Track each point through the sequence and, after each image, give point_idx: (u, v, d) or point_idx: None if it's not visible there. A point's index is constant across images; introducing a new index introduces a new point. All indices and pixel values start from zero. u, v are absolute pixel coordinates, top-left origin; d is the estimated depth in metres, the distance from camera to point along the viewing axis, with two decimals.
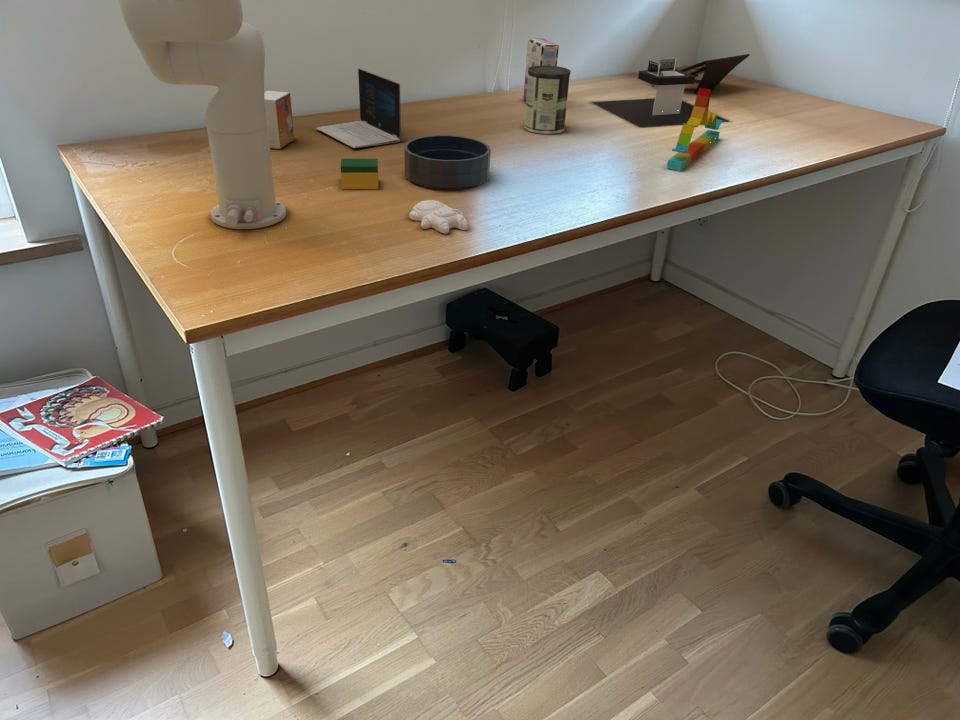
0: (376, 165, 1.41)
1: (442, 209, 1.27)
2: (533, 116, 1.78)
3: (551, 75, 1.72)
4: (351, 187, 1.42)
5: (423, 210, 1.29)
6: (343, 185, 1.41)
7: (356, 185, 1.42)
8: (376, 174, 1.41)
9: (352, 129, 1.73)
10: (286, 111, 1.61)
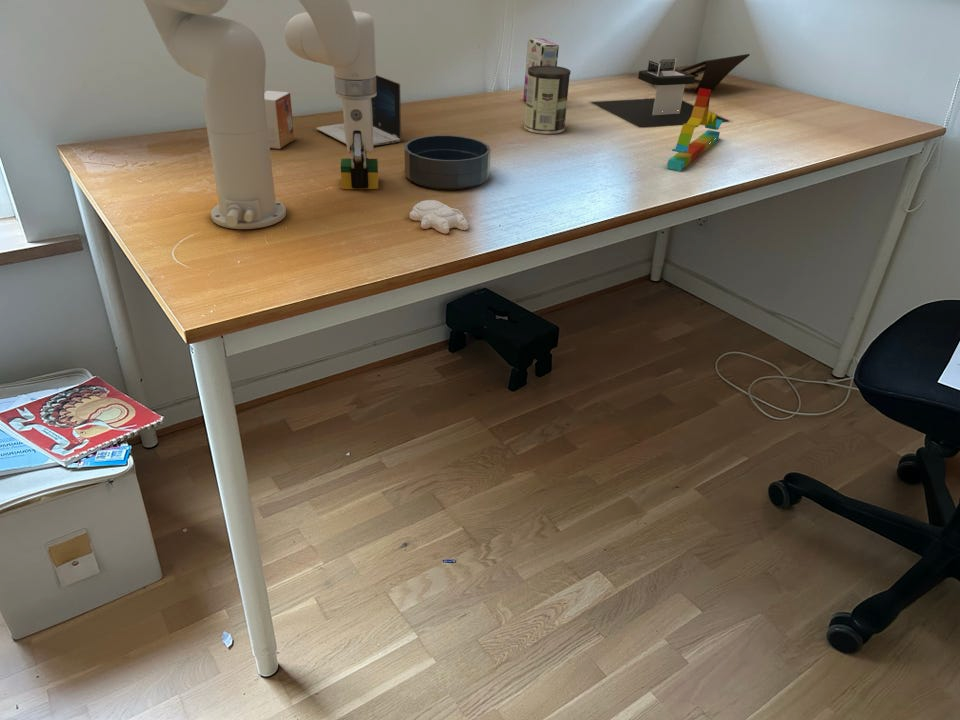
0: (376, 165, 1.41)
1: (442, 209, 1.27)
2: (533, 116, 1.78)
3: (551, 75, 1.72)
4: (351, 187, 1.42)
5: (423, 210, 1.29)
6: (343, 185, 1.41)
7: None
8: (376, 174, 1.41)
9: None
10: (286, 111, 1.61)
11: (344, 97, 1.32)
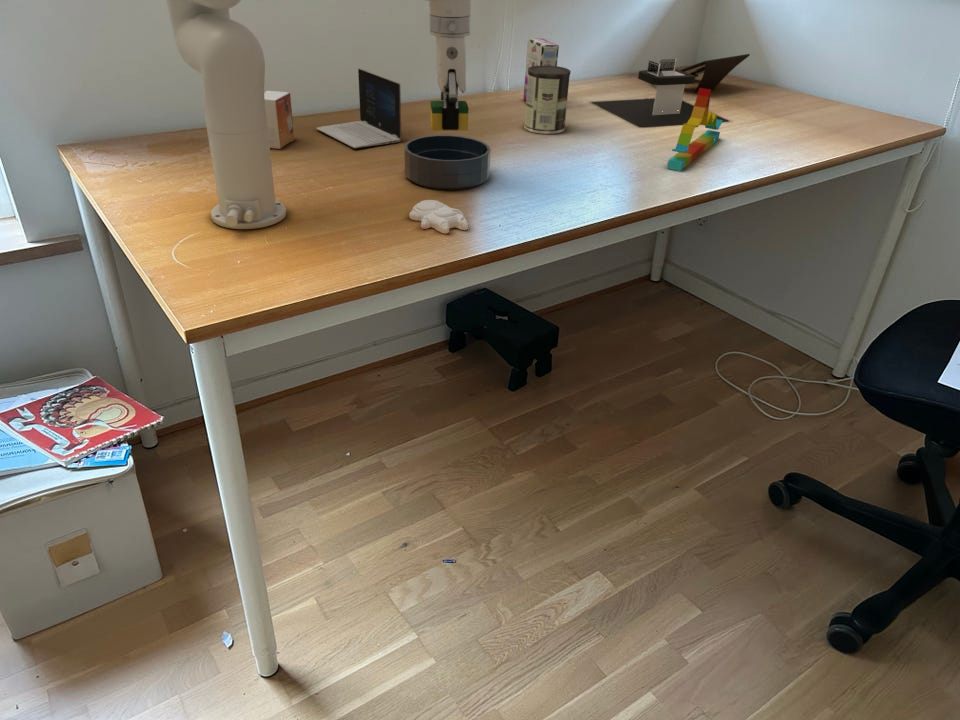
0: (467, 106, 1.42)
1: (442, 209, 1.27)
2: (533, 116, 1.78)
3: (551, 75, 1.72)
4: (441, 128, 1.43)
5: (423, 210, 1.29)
6: (434, 126, 1.42)
7: None
8: (466, 115, 1.42)
9: (352, 129, 1.73)
10: (286, 111, 1.61)
11: (440, 35, 1.33)
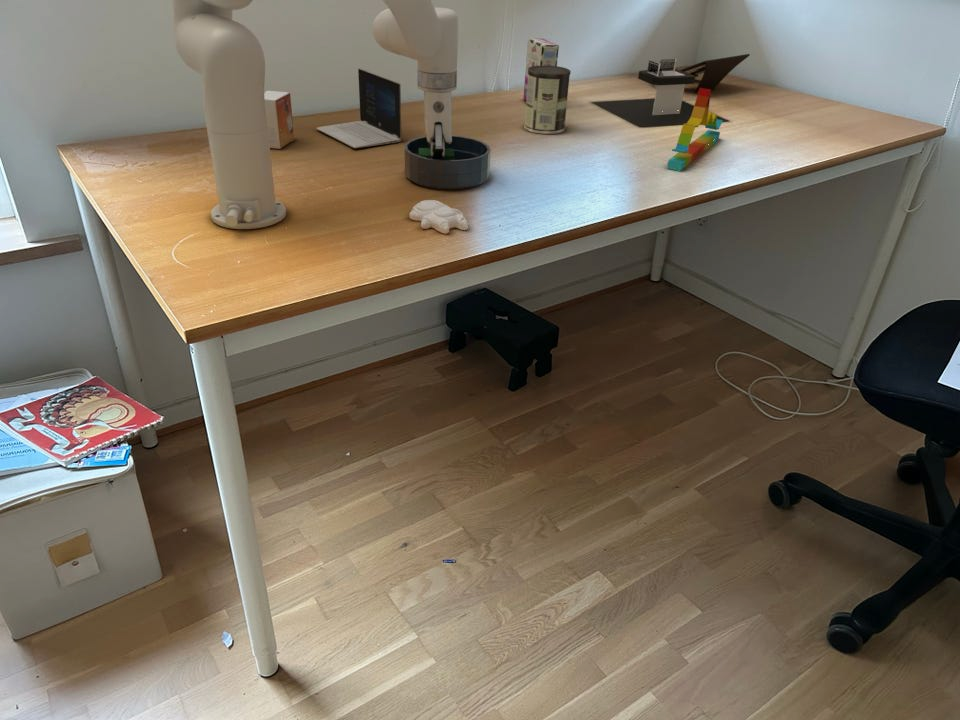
0: (453, 154, 1.46)
1: (442, 209, 1.27)
2: (533, 116, 1.78)
3: (551, 75, 1.72)
4: None
5: (423, 210, 1.29)
6: None
7: None
8: None
9: (352, 129, 1.73)
10: (286, 111, 1.61)
11: (427, 90, 1.38)
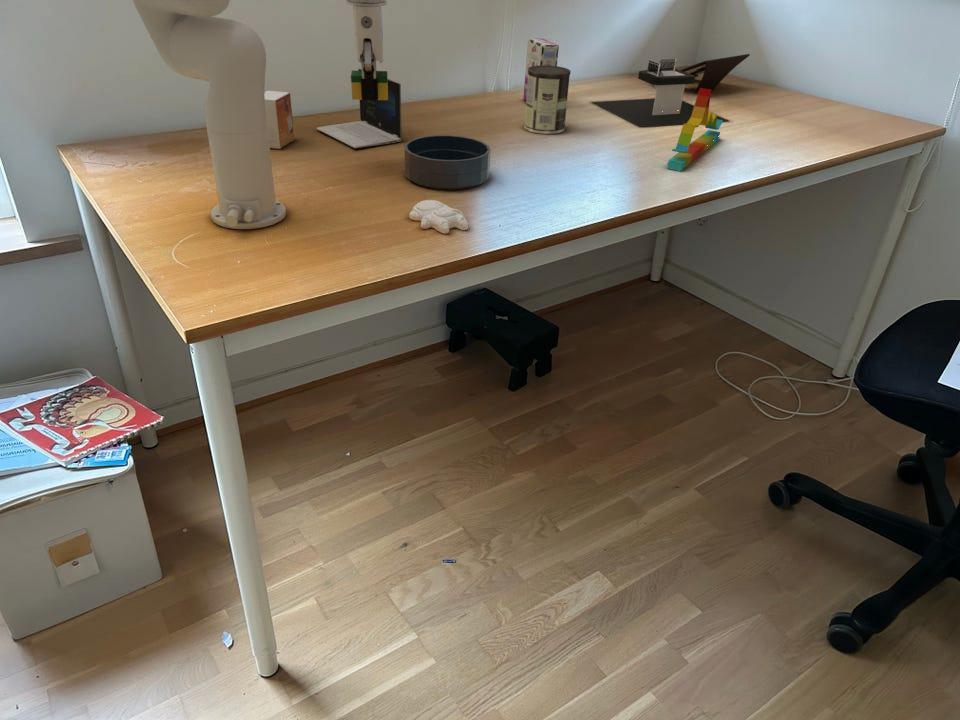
0: (386, 75, 1.43)
1: (442, 209, 1.27)
2: (533, 116, 1.78)
3: (551, 75, 1.72)
4: (361, 98, 1.44)
5: (423, 210, 1.29)
6: (353, 95, 1.43)
7: None
8: (386, 84, 1.43)
9: (352, 129, 1.73)
10: (286, 111, 1.61)
11: (355, 4, 1.34)
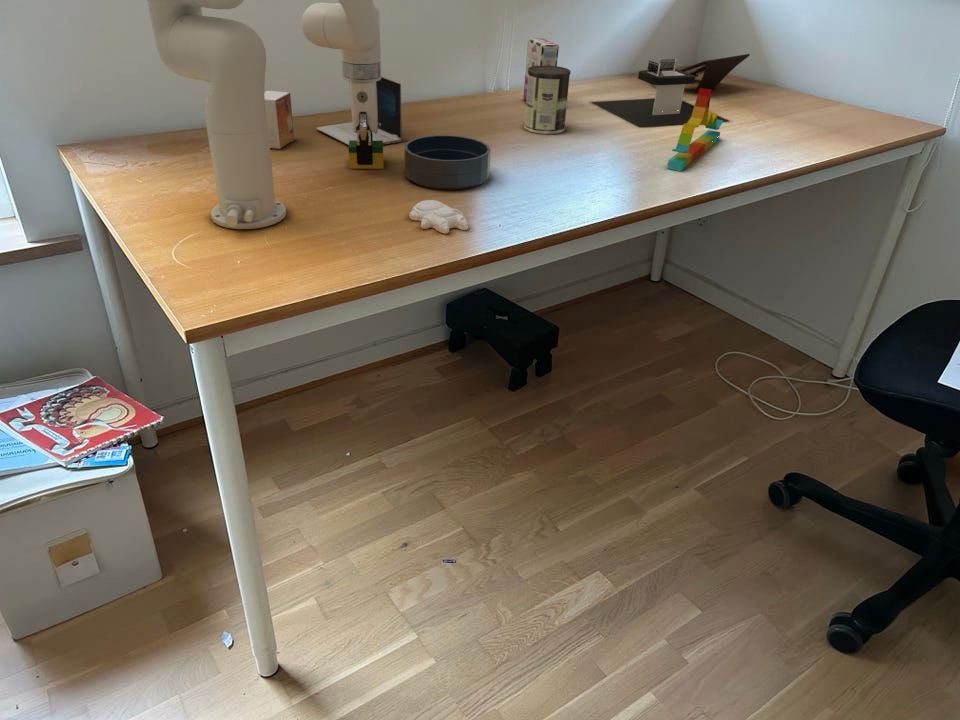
0: (381, 146, 1.51)
1: (442, 209, 1.27)
2: (533, 116, 1.78)
3: (551, 75, 1.72)
4: (358, 167, 1.52)
5: (423, 210, 1.29)
6: (351, 165, 1.51)
7: (362, 165, 1.52)
8: (381, 154, 1.51)
9: (352, 129, 1.73)
10: (286, 111, 1.61)
11: (351, 80, 1.42)
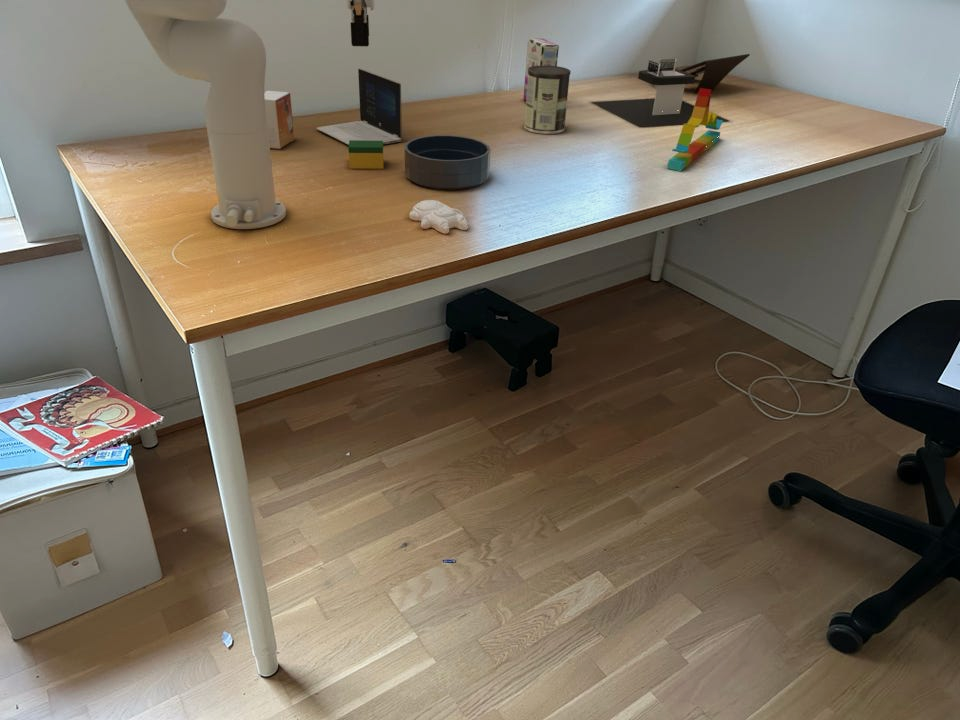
0: (381, 146, 1.51)
1: (442, 209, 1.27)
2: (533, 116, 1.78)
3: (551, 75, 1.72)
4: (358, 167, 1.52)
5: (423, 210, 1.29)
6: (351, 165, 1.51)
7: (362, 165, 1.52)
8: (381, 154, 1.51)
9: (352, 129, 1.73)
10: (286, 111, 1.61)
11: None
